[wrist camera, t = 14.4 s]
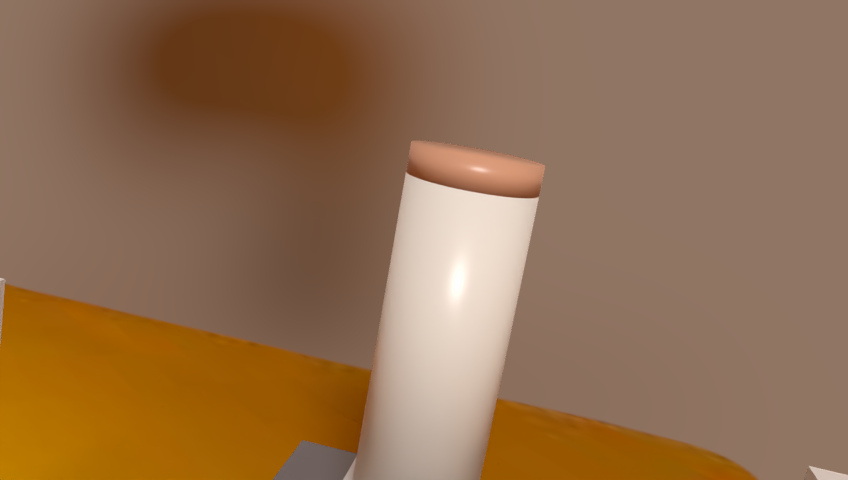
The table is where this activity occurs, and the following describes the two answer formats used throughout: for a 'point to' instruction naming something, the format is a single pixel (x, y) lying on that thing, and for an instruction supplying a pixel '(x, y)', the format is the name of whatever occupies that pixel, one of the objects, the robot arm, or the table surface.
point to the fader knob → (447, 312)
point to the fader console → (316, 463)
